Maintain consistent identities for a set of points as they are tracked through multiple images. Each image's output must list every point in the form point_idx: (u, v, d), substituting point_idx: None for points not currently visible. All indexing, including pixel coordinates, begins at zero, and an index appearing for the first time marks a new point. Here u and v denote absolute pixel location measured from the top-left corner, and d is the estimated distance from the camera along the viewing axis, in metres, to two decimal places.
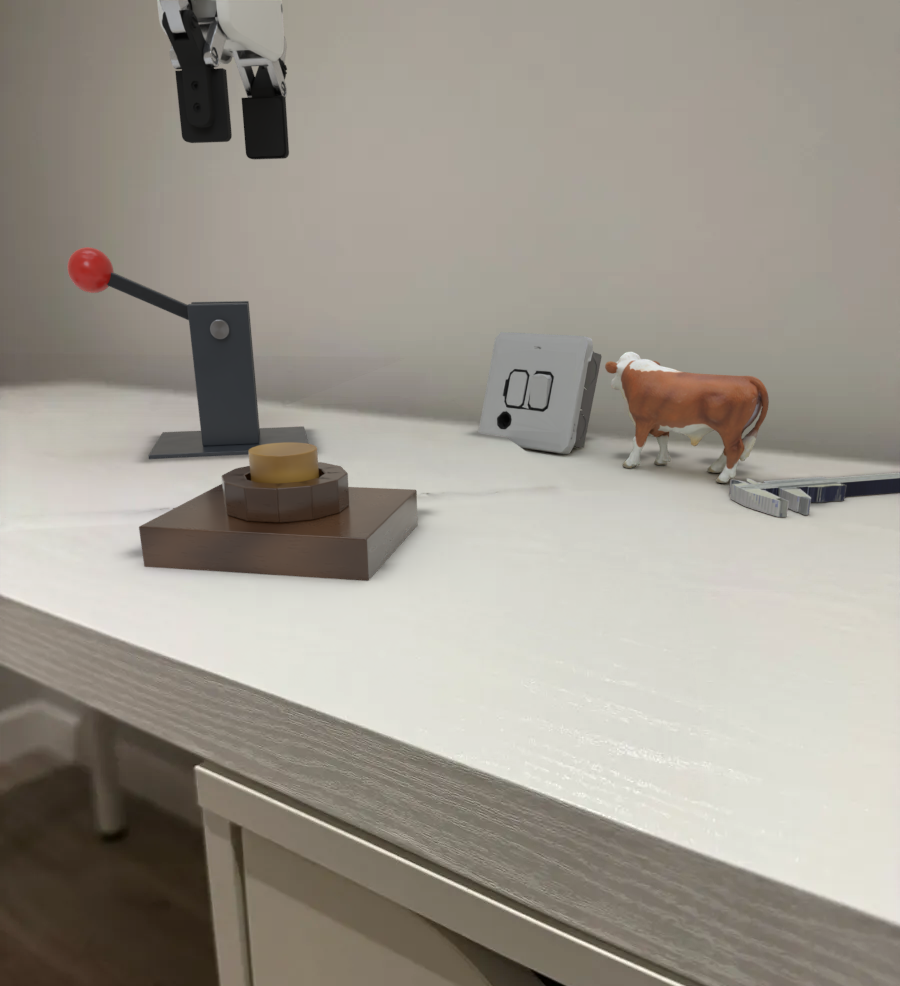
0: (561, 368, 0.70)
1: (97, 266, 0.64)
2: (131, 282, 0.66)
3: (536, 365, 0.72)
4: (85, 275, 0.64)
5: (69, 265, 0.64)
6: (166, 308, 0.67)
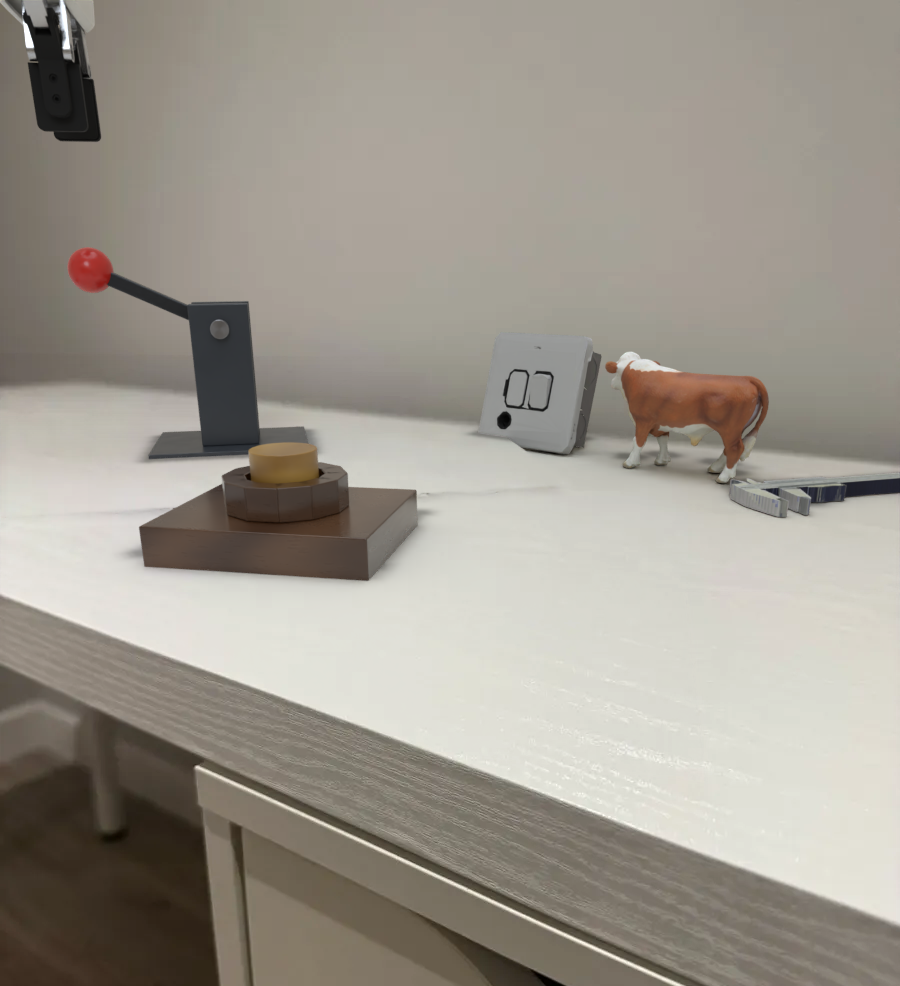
0: (561, 368, 0.70)
1: (97, 266, 0.64)
2: (131, 282, 0.66)
3: (536, 365, 0.72)
4: (85, 275, 0.64)
5: (69, 265, 0.64)
6: (166, 308, 0.67)
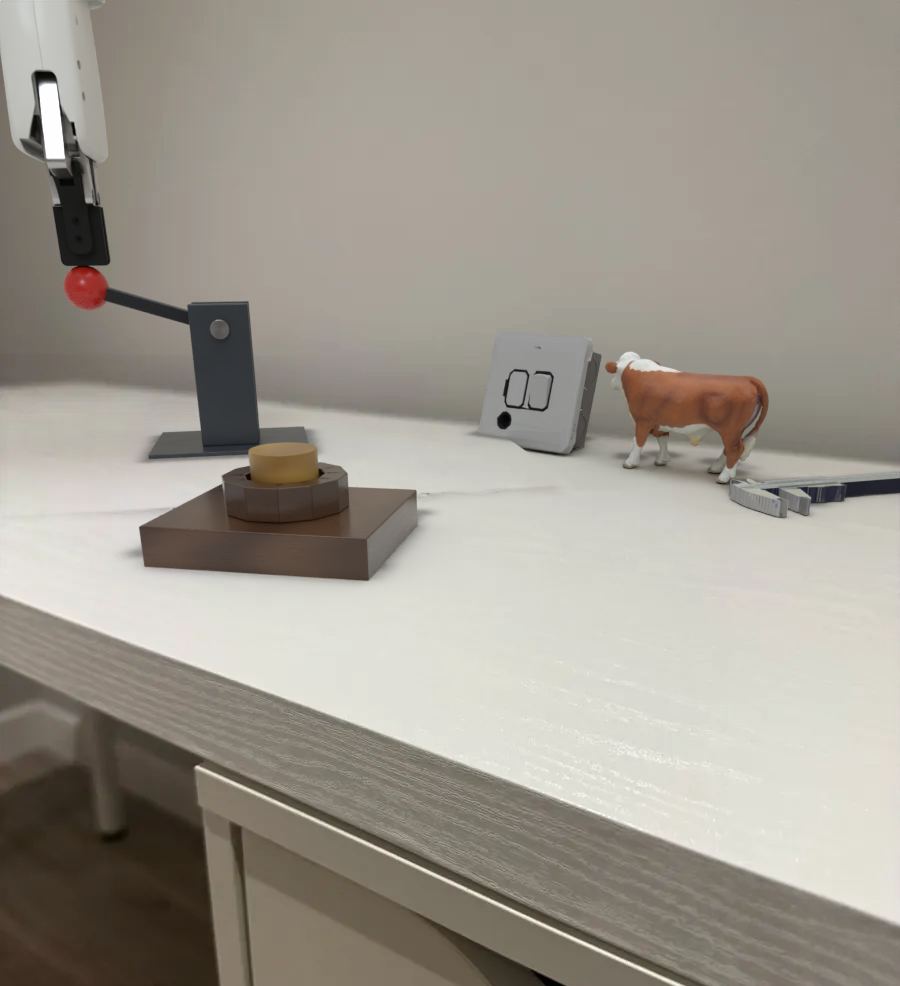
0: (561, 368, 0.70)
1: (92, 283, 0.65)
2: (127, 294, 0.66)
3: (536, 365, 0.72)
4: (82, 294, 0.65)
5: (65, 286, 0.65)
6: (165, 315, 0.67)
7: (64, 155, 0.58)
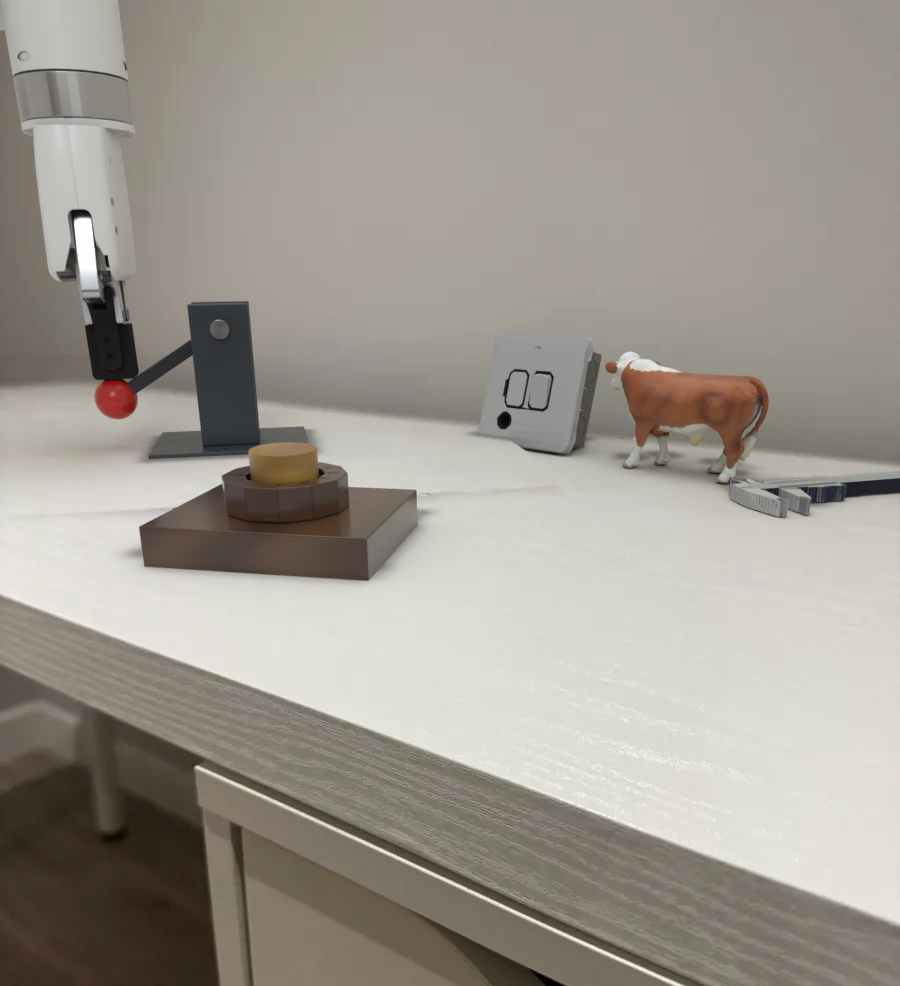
0: (561, 368, 0.70)
1: (114, 390, 0.68)
2: (143, 373, 0.68)
3: (536, 365, 0.72)
4: (116, 405, 0.68)
5: (102, 411, 0.68)
6: (179, 361, 0.68)
7: (98, 286, 0.61)
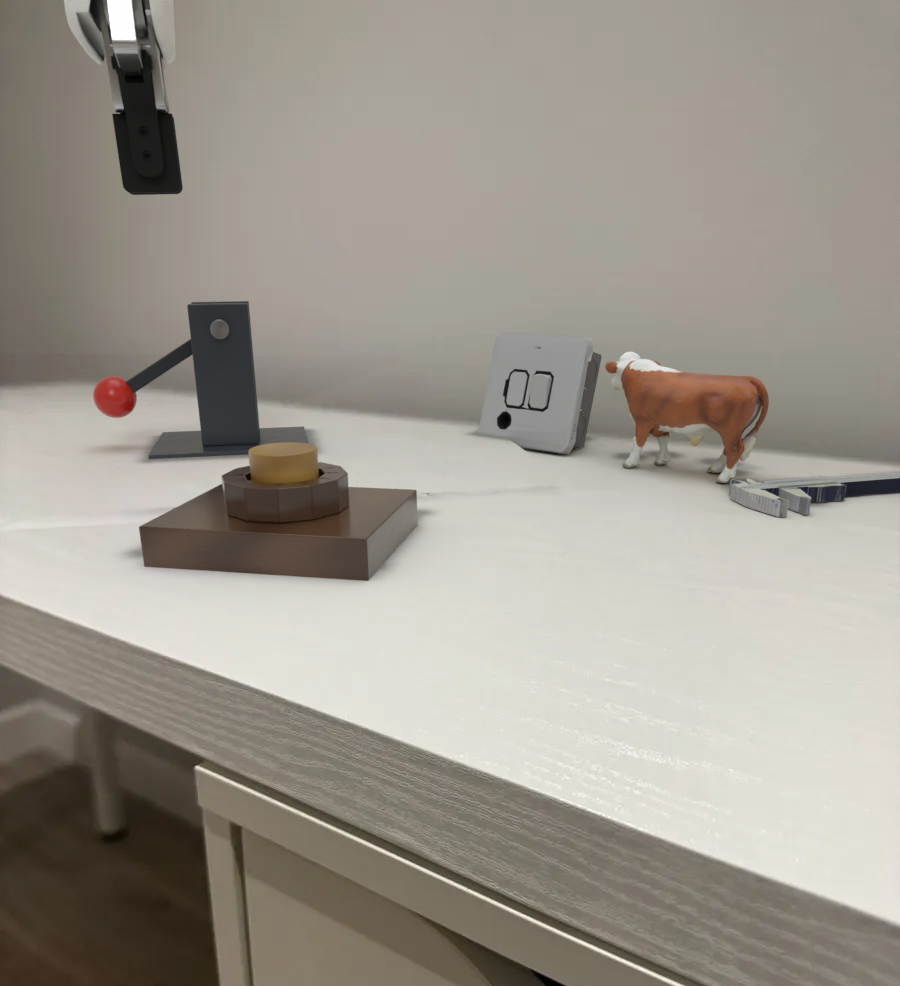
0: (561, 368, 0.70)
1: (113, 389, 0.67)
2: (142, 372, 0.68)
3: (536, 365, 0.72)
4: (115, 403, 0.68)
5: (101, 410, 0.68)
6: (179, 360, 0.68)
7: (135, 35, 0.44)
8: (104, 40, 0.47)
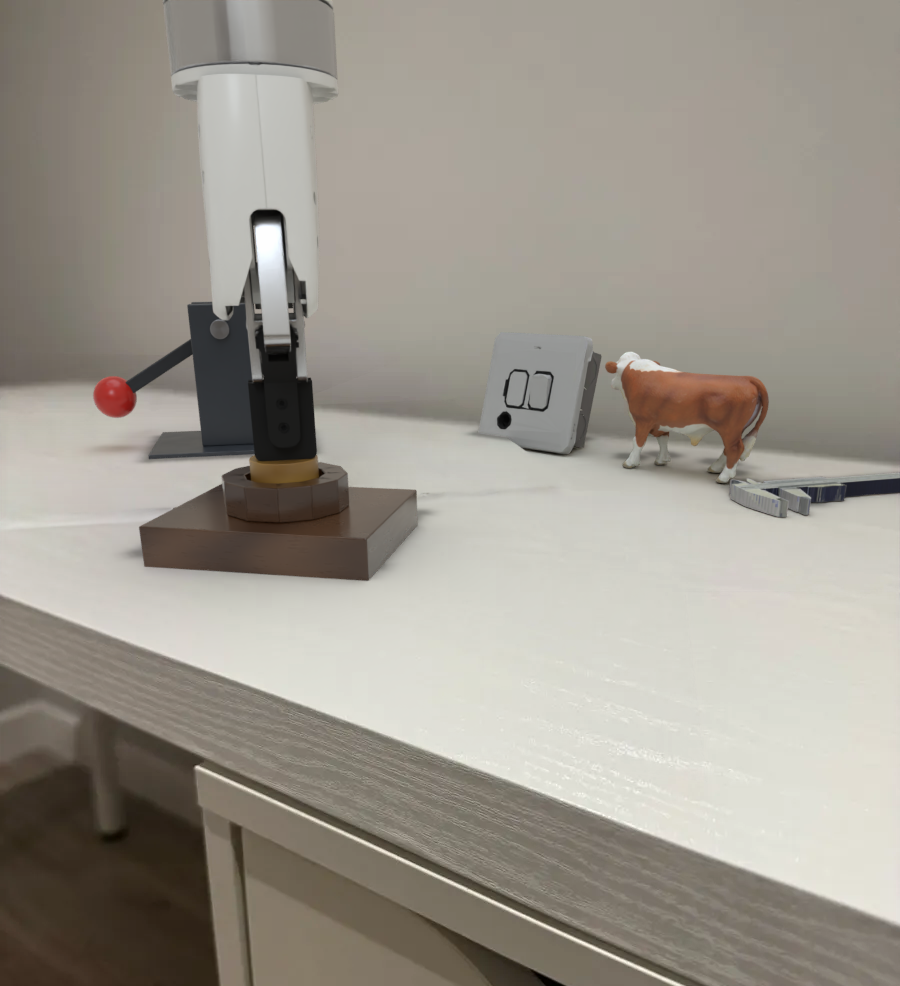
0: (561, 368, 0.70)
1: (113, 389, 0.67)
2: (142, 372, 0.68)
3: (536, 365, 0.72)
4: (115, 403, 0.68)
5: (101, 410, 0.68)
6: (179, 360, 0.68)
7: (289, 329, 0.40)
8: (247, 317, 0.42)
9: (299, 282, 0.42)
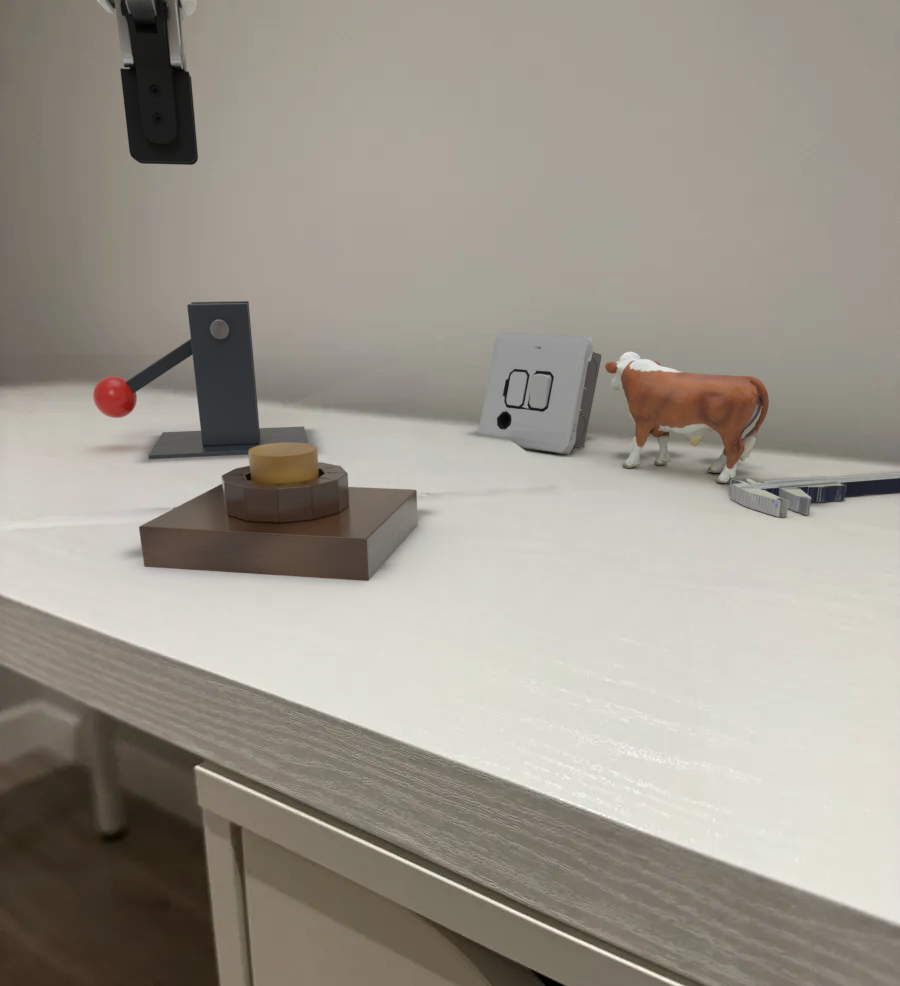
0: (561, 368, 0.70)
1: (113, 389, 0.67)
2: (142, 372, 0.68)
3: (536, 365, 0.72)
4: (115, 403, 0.68)
5: (101, 410, 0.68)
6: (179, 360, 0.68)
7: None
8: None
9: None
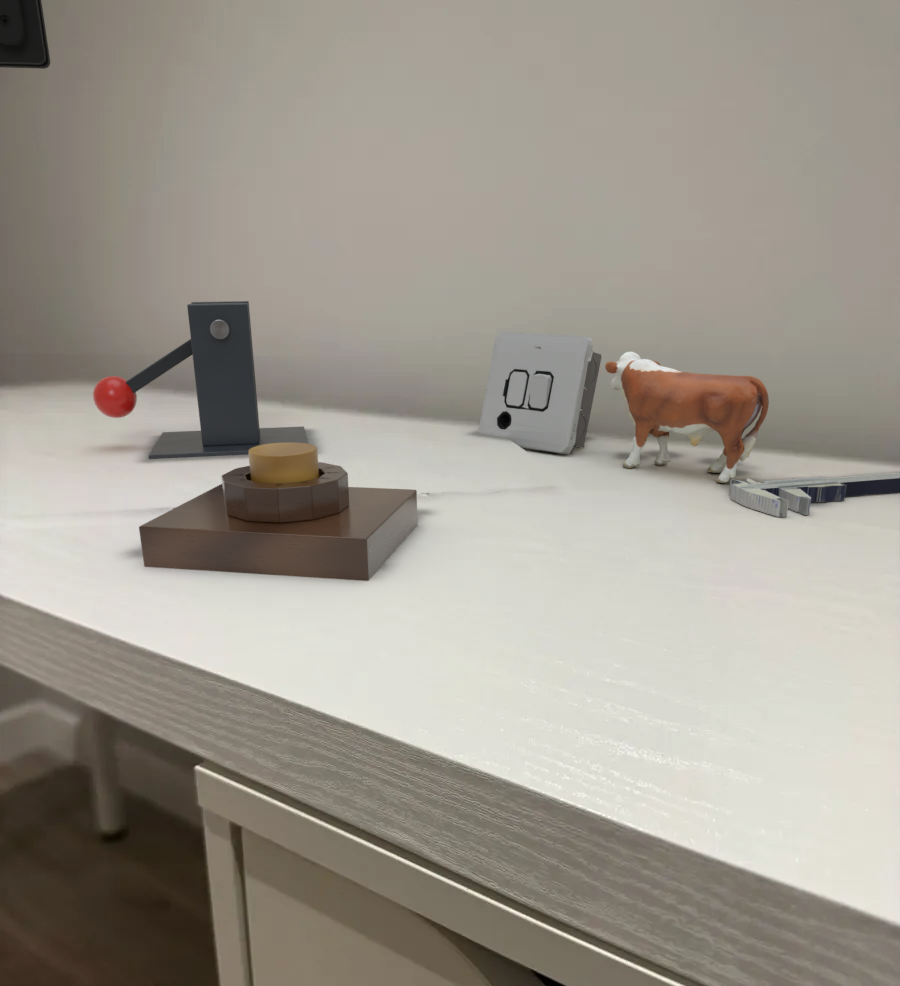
0: (561, 368, 0.70)
1: (113, 389, 0.67)
2: (142, 372, 0.68)
3: (536, 365, 0.72)
4: (115, 403, 0.68)
5: (101, 410, 0.68)
6: (179, 360, 0.68)
7: None
8: None
9: None
